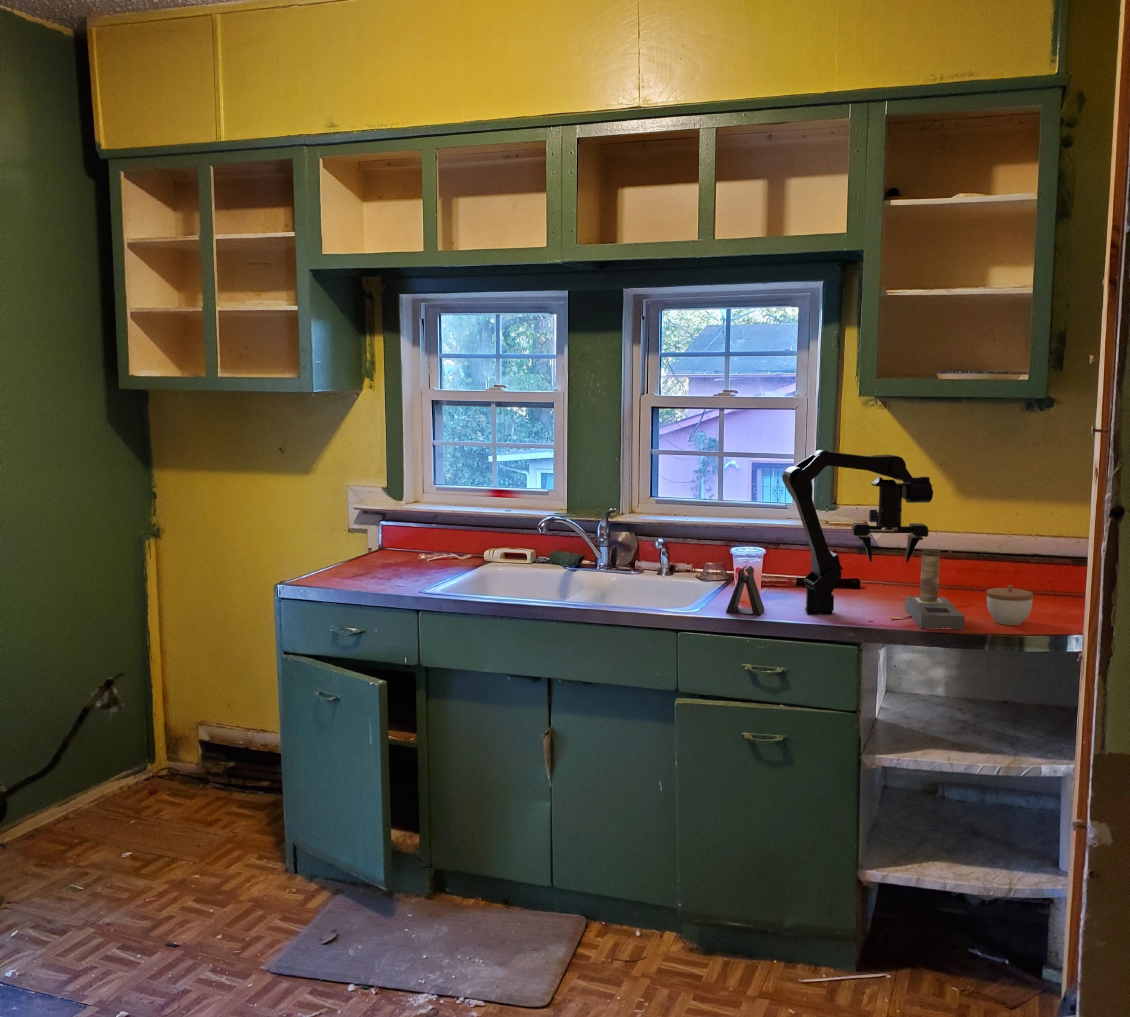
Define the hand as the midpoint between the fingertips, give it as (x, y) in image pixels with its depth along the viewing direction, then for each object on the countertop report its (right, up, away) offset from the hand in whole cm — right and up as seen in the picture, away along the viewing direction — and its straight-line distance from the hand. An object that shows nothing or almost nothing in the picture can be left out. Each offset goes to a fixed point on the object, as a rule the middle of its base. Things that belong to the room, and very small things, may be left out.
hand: (888, 562), depth 275 cm
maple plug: (+9, -10, -3) cm, 14 cm away
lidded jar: (+26, -15, -12) cm, 33 cm away
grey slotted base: (+9, -14, -9) cm, 19 cm away
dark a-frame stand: (-37, -13, +1) cm, 40 cm away
